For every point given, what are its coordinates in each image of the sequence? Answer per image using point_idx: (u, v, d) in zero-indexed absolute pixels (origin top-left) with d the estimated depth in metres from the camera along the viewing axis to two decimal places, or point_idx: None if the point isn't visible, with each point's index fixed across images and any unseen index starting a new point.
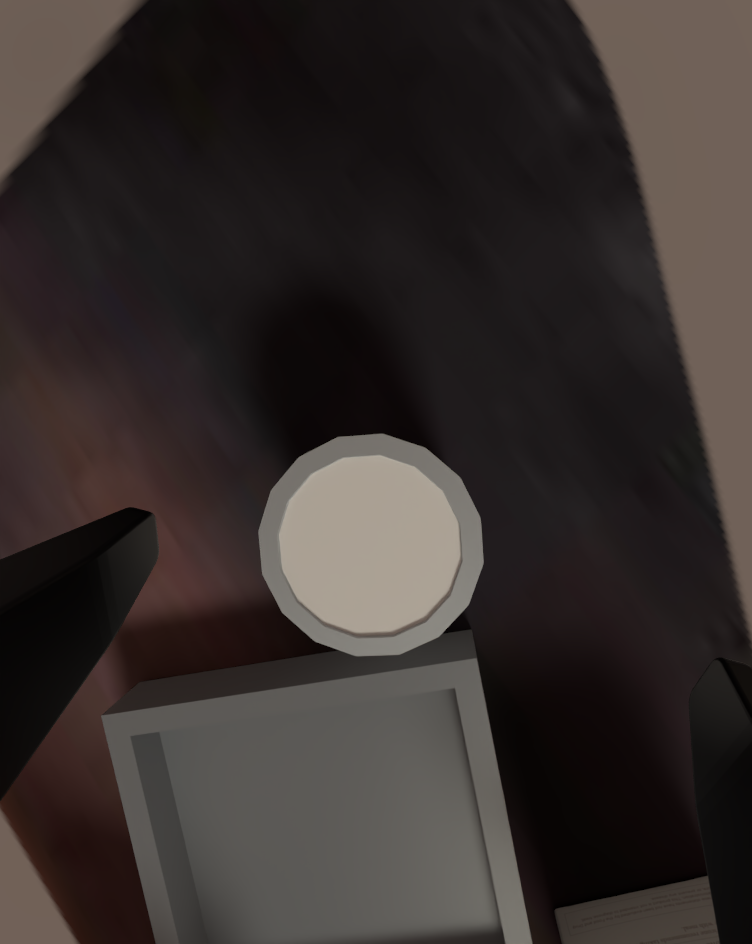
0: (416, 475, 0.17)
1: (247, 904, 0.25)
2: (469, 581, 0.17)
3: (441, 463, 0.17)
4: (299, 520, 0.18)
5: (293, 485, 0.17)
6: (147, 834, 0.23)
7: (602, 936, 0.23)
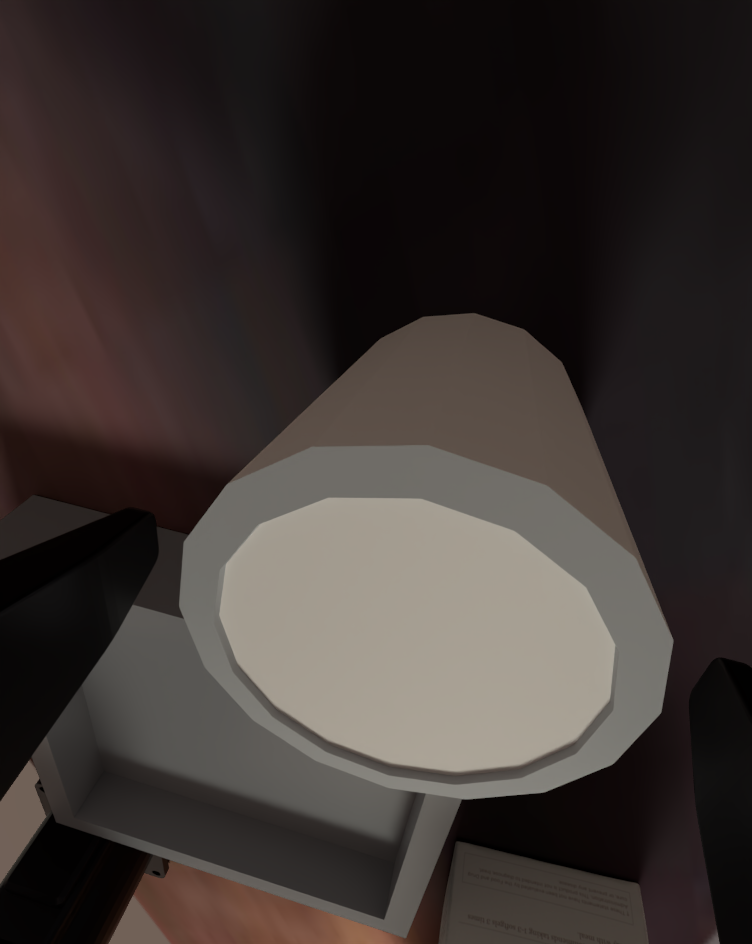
0: (576, 596, 0.07)
1: (141, 734, 0.23)
2: (567, 772, 0.09)
3: (650, 600, 0.07)
4: (276, 560, 0.08)
5: (281, 499, 0.07)
6: None
7: (494, 901, 0.21)
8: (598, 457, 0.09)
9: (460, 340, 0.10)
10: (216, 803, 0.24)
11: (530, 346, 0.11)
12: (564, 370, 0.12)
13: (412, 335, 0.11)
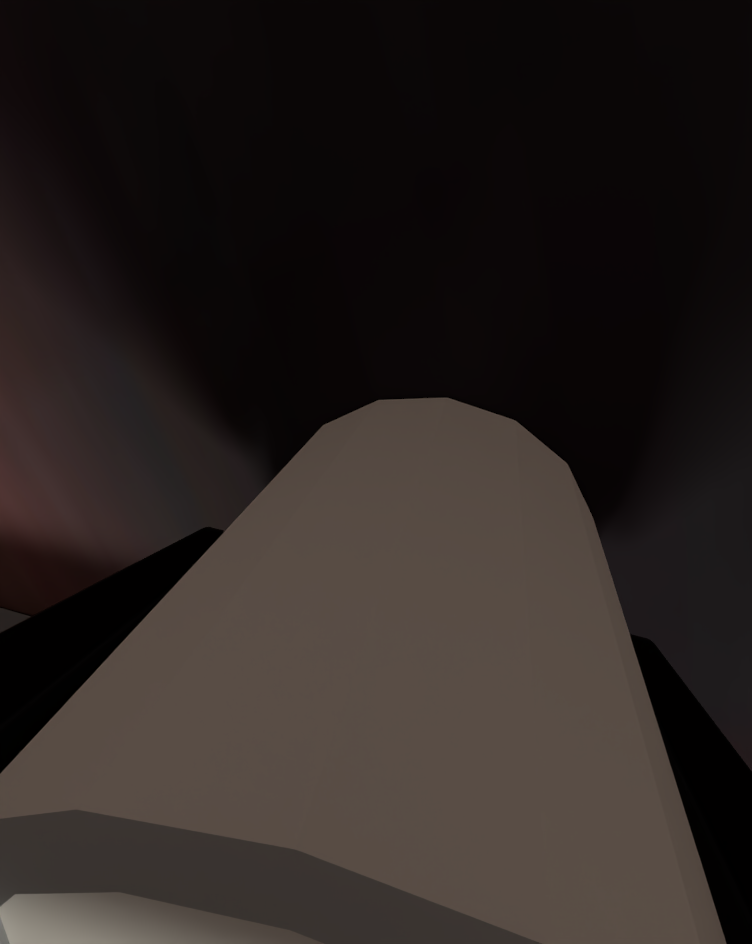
0: None
1: None
2: None
3: None
4: (71, 919, 0.04)
5: (44, 866, 0.04)
6: None
7: None
8: (629, 681, 0.05)
9: (418, 462, 0.07)
10: None
11: (523, 454, 0.08)
12: (570, 480, 0.09)
13: (354, 442, 0.08)
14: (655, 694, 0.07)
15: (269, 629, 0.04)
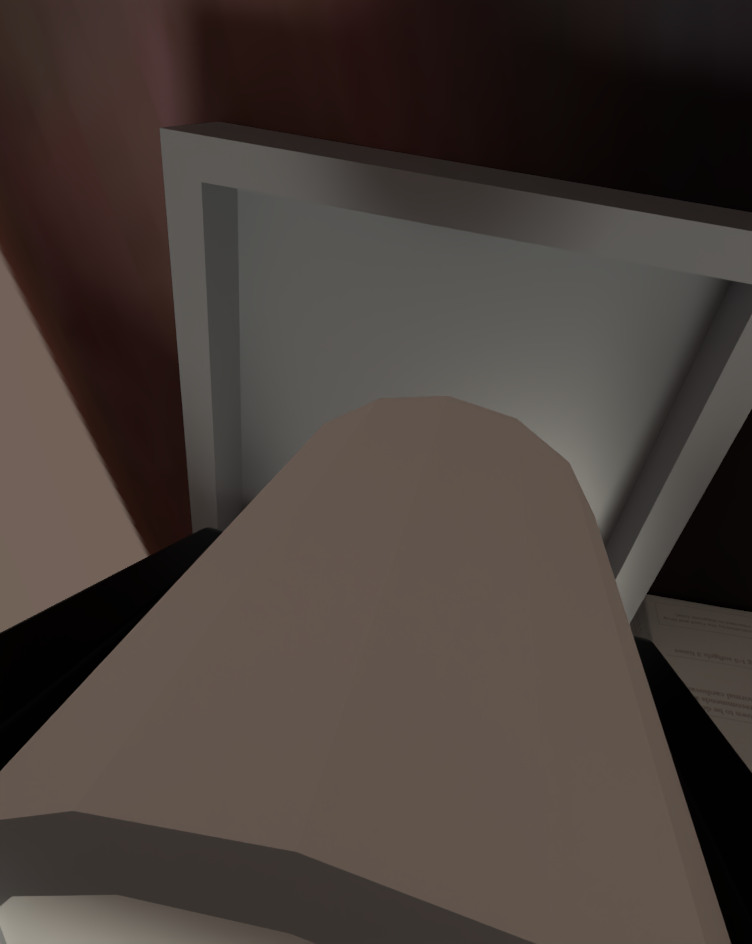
0: None
1: None
2: None
3: None
4: (69, 921, 0.04)
5: (41, 868, 0.04)
6: (200, 340, 0.16)
7: (700, 638, 0.19)
8: (633, 681, 0.05)
9: (420, 460, 0.07)
10: None
11: (525, 452, 0.08)
12: (573, 479, 0.09)
13: (355, 440, 0.08)
14: (655, 694, 0.07)
15: (269, 628, 0.04)
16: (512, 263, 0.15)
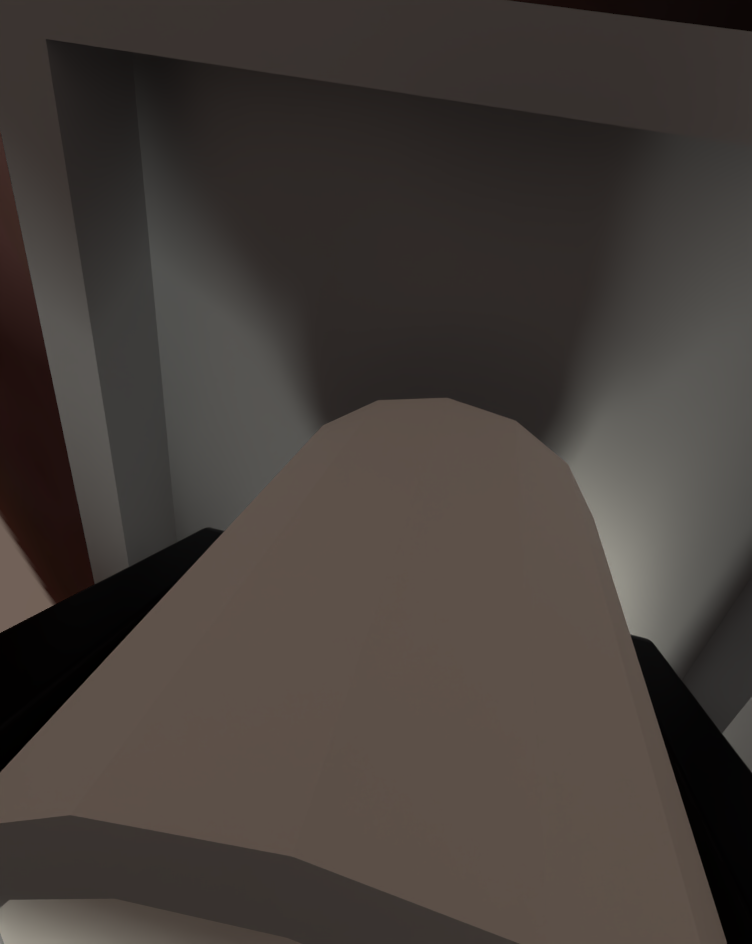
0: None
1: None
2: None
3: None
4: (66, 924, 0.04)
5: (39, 872, 0.04)
6: (79, 331, 0.10)
7: None
8: (631, 684, 0.05)
9: (418, 462, 0.07)
10: None
11: (523, 455, 0.08)
12: (571, 481, 0.09)
13: (353, 443, 0.08)
14: (654, 694, 0.07)
15: (267, 632, 0.04)
16: (594, 196, 0.09)
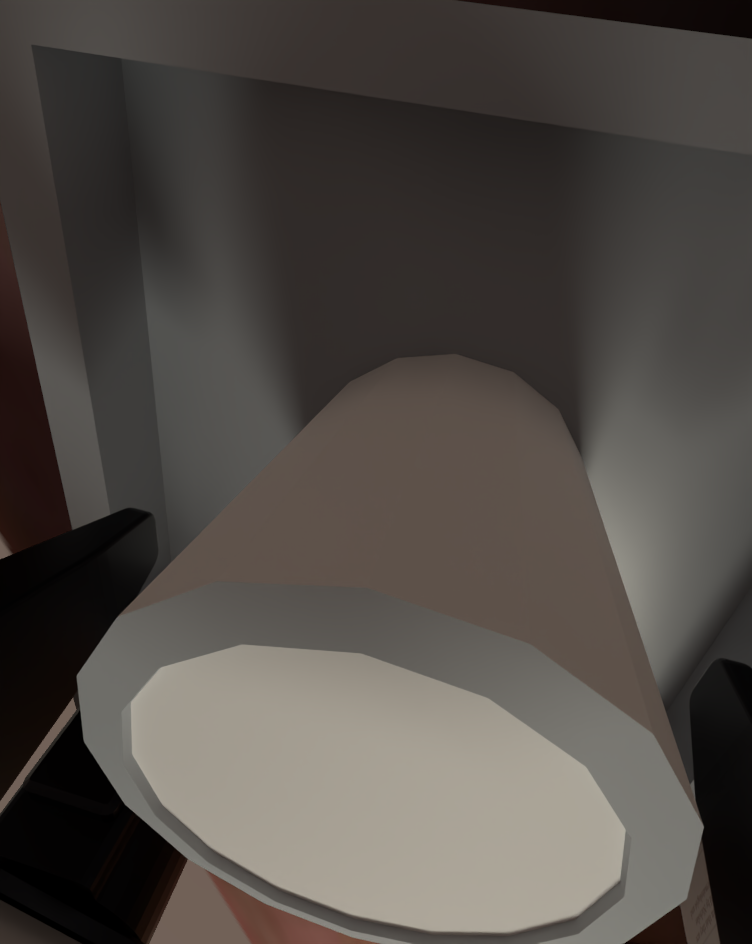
0: (573, 770, 0.05)
1: None
2: None
3: (673, 781, 0.05)
4: (190, 703, 0.06)
5: (184, 639, 0.05)
6: (68, 340, 0.10)
7: None
8: (601, 550, 0.07)
9: (434, 396, 0.09)
10: None
11: (520, 396, 0.10)
12: (561, 420, 0.10)
13: (380, 386, 0.09)
14: None
15: (330, 494, 0.06)
16: (591, 204, 0.09)
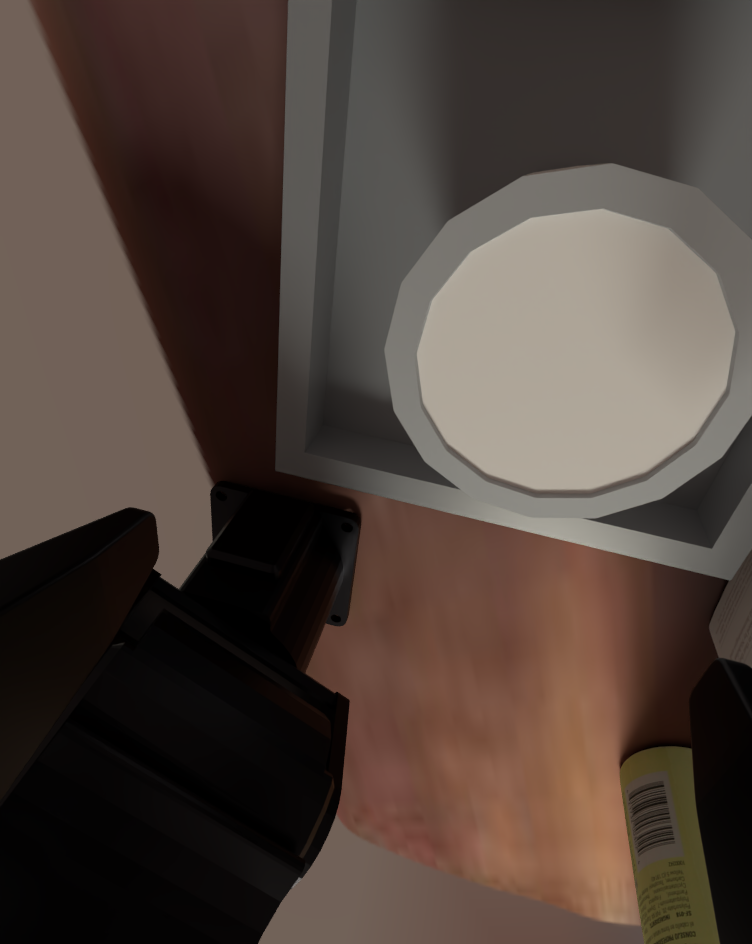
0: (709, 289, 0.09)
1: None
2: (684, 472, 0.11)
3: None
4: (474, 290, 0.10)
5: (490, 227, 0.10)
6: (313, 148, 0.14)
7: None
8: None
9: (582, 165, 0.13)
10: None
11: None
12: None
13: (536, 172, 0.14)
14: None
15: None
16: (685, 40, 0.13)
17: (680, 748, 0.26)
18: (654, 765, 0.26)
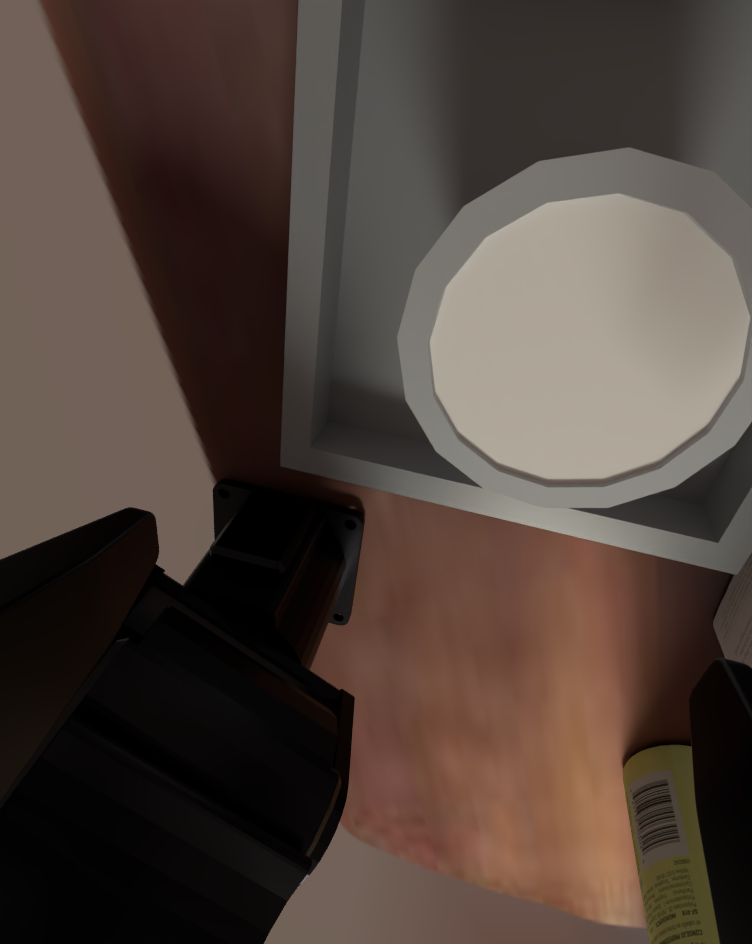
0: (724, 274, 0.09)
1: None
2: (697, 460, 0.11)
3: None
4: (488, 276, 0.10)
5: (506, 212, 0.10)
6: (322, 140, 0.14)
7: None
8: None
9: None
10: None
11: None
12: None
13: None
14: None
15: None
16: (693, 33, 0.13)
17: (683, 746, 0.26)
18: (658, 764, 0.26)
